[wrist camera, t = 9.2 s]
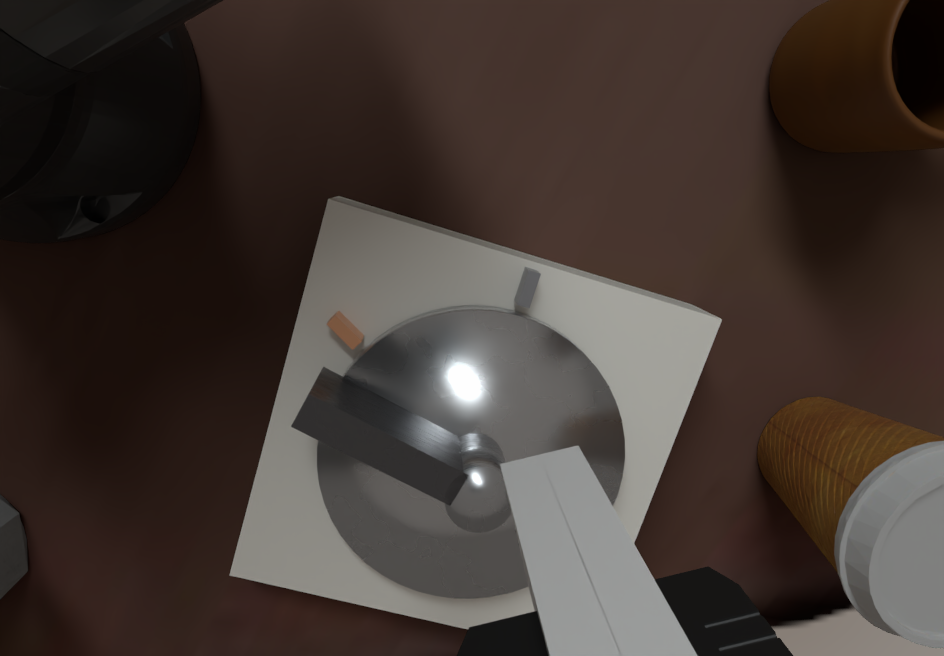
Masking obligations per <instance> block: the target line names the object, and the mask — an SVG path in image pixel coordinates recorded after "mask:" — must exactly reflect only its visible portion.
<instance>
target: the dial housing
mask: <svg viewBox="0 0 944 656" xmlns="http://www.w3.org/2000/svg"><path fill="white" fill-rule="evenodd" d="M462 305H486V306H496V307H501V308H506V309H512V310H515V311H518V312H521V313H524V314H527V315H530V316H532V317H534V318H537V319H539V320H541V321H543V322H545V323H547V324H549V325H550V326H552V327H553V328H555V329H556V330H558V331H559V332H561V333H563V334H564V335H565V336H566V337H568V338H569V339H570V340H571V341H572V342H573V343H574V344H576V345H577V346H578V347H579V348H580V349H581V350H582V351H583V353H584V354H585V355H586V356H587V357H588V358H589V359H590V361H591V362H592V363H593V364H594V365H595V366H596V368H597V369H598V370H599V372H600V373H601V375H602V376H603V378H604V379H605V381H606V382H607V384H608V385H609V387H610V390H611V392H612V394H613V396H614V398H615V400H616V403H617V406H618V409H619V412H620V416H621V419H622V424H623V430H624V437H625V463H624V471H623V477H622V481H621V485H620V489H619V492H618V496H617V498H616V500H615V503H614V505H613V508H614V509H615V511H616V513H617V515H618V516H619V518H620V520H621V522H622V523H623V525H624V527H625V529H626V530H627V532H628V534H629V536H630V538H631V539H632V541H633V543H635V540H636V537H637V535H638V532H639V530H640V527H641V525H642V522H643V520H644V517H645V515H646V512H647V509H648V507H649V504H650V502H651V499H652V497H653V494H654V492H655V489H656V486H657V484H658V481H659V479H660V476H661V474H662V471H663V469H664V466H665V464H666V461H667V458H668V456H669V453H670V451H671V448H672V446H673V443H674V441H675V438H676V436H677V433H678V430H679V428H680V425H681V423H682V420H683V418H684V415H685V413H686V410H687V408H688V405H689V402H690V400H691V397H692V395H693V392H694V390H695V387H696V385H697V382H698V380H699V377H700V374H701V372H702V369H703V367H704V364H705V362H706V359H707V357H708V354H709V352H710V349H711V346H712V344H713V341H714V339H715V336H716V334H717V331H718V329H719V326H720V324H721V321H722V319H720V318H718V317H716V316H714V315H712V314H710V313H708V312H706V311H704V310H702V309H700V308H698V307H696V306H694V305H692V304H689V303H686V302H682V301H679V300H676V299H673V298H669V297H666V296H663V295H660V294H656V293H653V292H650V291H647V290H643V289H640V288H637V287H634V286H630V285H627V284H624V283H621V282H617V281H614V280H611V279H608V278H604V277H601V276H598V275H594V274H591V273H588V272H585V271H581V270H578V269H575V268H572V267H568V266H565V265H562V264H559V263H555V262H552V261H549V260H546V259H542V258H539V257H536V256H533V255H529V254H526V253H523V252H520V251H516V250H513V249H510V248H507V247H503V246H500V245H497V244H494V243H490V242H487V241H484V240H481V239H477V238H474V237H471V236H468V235H464V234H461V233H458V232H455V231H451V230H448V229H445V228H442V227H438V226H435V225H432V224H429V223H425V222H422V221H419V220H416V219H412V218H409V217H406V216H403V215H399V214H396V213H393V212H390V211H386V210H383V209H380V208H376V207H373V206H370V205H367V204H363V203H360V202H357V201H354V200H350V199H347V198H344V197H341V196H337V197H333V198H329V199H328V202H327V205H326V209H325V213H324V217H323V221H322V224H321V228H320V232H319V236H318V240H317V244H316V247H315V251H314V255H313V259H312V263H311V266H310V270H309V274H308V278H307V282H306V285H305V289H304V293H303V297H302V301H301V304H300V308H299V312H298V316H297V320H296V323H295V327H294V331H293V335H292V339H291V343H290V346H289V350H288V354H287V358H286V362H285V365H284V369H283V373H282V377H281V381H280V384H279V388H278V392H277V396H276V400H275V403H274V407H273V411H272V415H271V419H270V423H269V426H268V430H267V434H266V438H265V442H264V445H263V449H262V453H261V457H260V461H259V464H258V468H257V472H256V476H255V480H254V483H253V487H252V491H251V495H250V499H249V502H248V506H247V510H246V514H245V518H244V522H243V525H242V529H241V533H240V537H239V541H238V544H237V548H236V552H235V556H234V560H233V563H232V567H231V571H230V576H235V577H239V578H243V579H248V580H252V581H257V582H261V583H265V584H270V585H274V586H279V587H283V588H287V589H292V590H296V591H301V592H305V593H309V594H314V595H318V596H323V597H327V598H331V599H336V600H340V601H345V602H349V603H353V604H358V605H362V606H367V607H371V608H375V609H380V610H384V611H389V612H393V613H397V614H402V615H406V616H411V617H415V618H419V619H424V620H428V621H433V622H437V623H441V624H446V625H450V626H454V627H459V628H463V629H469V627H473V626H477V625H481V624H485V623H489V622H493V621H497V620H501V619H505V618H510V617H514V616H518V615H522V614H526V613H530V612H534V611H535V610H534V606H533V603H532V599H531V595H530V591H529V587H526V588H523V589H520V590H518V591H515V592H512V593H508V594H503V595H498V596H494V597H486V598H475V599H459V598H447V597H440V596H434V595H430V594H426V593H422V592H418V591H415V590H412V589H410V588H407V587H405V586H402V585H400V584H398V583H396V582H394V581H392V580H390V579H388V578H387V577H385V576H383V575H381V574H380V573H379V572H377V571H376V570H374V569H373V568H372V567H370V566H369V565H367V564H366V563H365V562H364V561H363V560H362V559H361V558H360V557H359V556H358V555H357V554H356V553H355V552H354V551H353V550H352V549H351V548H350V547H349V545H348V544H347V543H346V542H345V541H344V539H343V538H342V537H341V535H340V534H339V532H338V530H337V529H336V527H335V525H334V524H333V522H332V520H331V518H330V516H329V513H328V511H327V509H326V506H325V504H324V501H323V497H322V494H321V490H320V486H319V480H318V472H317V445H318V440H316V439H314V438H312V437H310V436H308V435H306V434H304V433H302V432H300V431H298V430H296V429H294V428H292V427H291V425H292V423H293V422H294V420H295V418H296V416H297V414H298V412H299V410H300V408H301V406H302V405H303V403H304V401H305V399H306V397H307V395H308V393H309V391H310V390H311V388H312V386H313V384H314V382H315V381H316V379H317V377H318V375H319V373H320V372H321V370H322V368H323V367H325V368H327V369H329V370H331V371H333V372H335V373H337V374H339V375H341V376H343V374H344V373H345V371H346V369H347V368H348V366H349V365H350V364H351V363H352V362H353V360H354V359H355V358H356V357H357V356H358V355H359V354H360V352H361V351H362V350H363V349H364V348H366V347H367V346H368V345H369V344H370V343H371V342H372V341H373V340H375V339H376V338H377V337H378V336H380V335H381V334H383V333H384V332H386V331H387V330H389V329H390V328H392V327H393V326H395V325H397V324H399V323H401V322H403V321H405V320H407V319H409V318H411V317H414V316H417V315H419V314H422V313H425V312H428V311H431V310H436V309H441V308H445V307H450V306H462Z"/></svg>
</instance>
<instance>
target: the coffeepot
mask: <svg viewBox="0 0 944 656" xmlns="http://www.w3.org/2000/svg"><path fill="white" fill-rule="evenodd" d="M27 572H28V557H27V538H26V534H25V531H24V527H23V524H22V522H21V520H20V514H19V512H18V511H17V510H16V509H15V508H14V507H13V506H12V505H11V504H10V503H9V502H8V501H7V500H6V499H5V498H4V497H3V496H1V495H0V599H1V598H2V597H3V596H4V595H5V594H6V593H7V592H8V591H9V590H10V589H11V588H12V587H13V586H14V585H15V584H16V583H17V582H18V581H19V580H20V579H21V578H22V577H23V576H24V575H25V574H26V573H27Z"/></svg>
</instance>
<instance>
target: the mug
mask: <svg viewBox="0 0 944 656" xmlns="http://www.w3.org/2000/svg"><path fill="white" fill-rule="evenodd" d="M769 91H770V99H771V104H772V107H773V110H774V113H775V116H776V117H777V119H778V121H779V123H780V125H781V126H782V127H783V129H784V130H785V131H786V132H787V133H788V134H789V135H790V136H791V137H792V138H793V139H794V140H796V141H797V142H799V143H800V144H802V145H804V146H806V147H809V148H812V149H814V150H818V151H822V152H832V153H851V152H883V151H904V150H924V149H936V148H943V147H944V0H829V1H827V2H825V3H823V4H821V5H819V6H817V7H816V8H814V9H812V10H811V11H809V12H808V13H807V14H805V15H804V16H803V17H802V18H801V19H800V20H798V21H797V22H796V23H795V24H794V25H793V26H792V27H791V29H790V30H789V31H788V32H787V34H786V35H785V36H784V38H783V39H782V41H781V43H780V45H779V47H778V48H777V51H776V53H775V56H774V59H773V62H772V66H771V71H770V77H769Z"/></svg>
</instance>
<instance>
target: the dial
mask: <svg viewBox="0 0 944 656" xmlns="http://www.w3.org/2000/svg"><path fill="white" fill-rule="evenodd" d="M291 427H292V428H294V429H296V430H298V431H300V432H302V433H304V434H306V435H308V436H310V437H312V438H314V439H316V440H318V445H317V472H318V480H319V486H320V490H321V494H322V497H323V501H324V504H325V506H326V509H327V511H328V513H329V516H330V518H331V520H332V522H333V524H334V525H335V527H336V529H337V530H338V532H339V534H340V535H341V537H342V538H343V539H344V541H345V542H346V543H347V544H348V545H349V547H350V548H351V549H352V550H353V551H354V552H355V553H356V554H357V555H358V556H359V557H360V558H361V559H362V560H363V561H364V562H365V563H366V564H367V565H369V566H370V567H372V568H373V569H374V570H376V571H377V572H379V573H380V574H381V575H383V576H385V577H387V578H388V579H390V580H392V581H394V582H396V583H398V584H400V585H402V586H405V587H407V588H410V589H412V590H415V591H418V592H422V593H426V594H430V595H434V596H440V597H447V598H459V599H475V598H486V597H494V596H498V595H503V594H508V593H512V592H515V591H518V590H520V589H523V588H526V587H529V586H528V582H527V578H526V573H525V569H524V565H523V561H522V556H521V552H520V548H519V543H518V539H517V535H516V531H515V526H514V522H513V518H512V513H511V509H510V505H509V501H508V496H507V492H506V488H505V483H504V479H503V475H502V470H501V466H500V464H502V463H506V462H511V461H515V460H519V459H523V458H527V457H532V456H536V455H540V454H544V453H548V452H552V451H557V450H561V449H565V448H569V447H573V446H579V448H580V449H581V451H582V453H583V455H584V456H585V458H586V460H587V462H588V463H589V465H590V467H591V469H592V470H593V472H594V474H595V476H596V478H597V479H598V481H599V483H600V485H601V486H602V488H603V490H604V492H605V493H606V495H607V497H608V499H609V500H610V502H611V504H612V506H613V505H614V503H615V500H616V498H617V496H618V492H619V489H620V485H621V481H622V477H623V471H624V463H625V437H624V430H623V424H622V419H621V416H620V412H619V409H618V406H617V403H616V400H615V398H614V396H613V394H612V392H611V390H610V387H609V385H608V384H607V382H606V381H605V379H604V378H603V376H602V375H601V373H600V372H599V370H598V369H597V368H596V366H595V365H594V364H593V363H592V362H591V361H590V359H589V358H588V357H587V356H586V355H585V354H584V353H583V351H582V350H581V349H580V348H579V347H578V346H577V345H576V344H574V343H573V342H572V341H571V340H570V339H569V338H568V337H566V336H565V335H564V334H563V333H561V332H559V331H558V330H556V329H555V328H553V327H552V326H550V325H549V324H547V323H545V322H543V321H541V320H539V319H537V318H534V317H532V316H530V315H527V314H524V313H521V312H518V311H515V310H512V309H506V308H501V307H496V306H486V305H462V306H450V307H445V308H441V309H436V310H431V311H428V312H425V313H422V314H419V315H417V316H414V317H411V318H409V319H407V320H405V321H403V322H401V323H399V324H397V325H395V326H393V327H392V328H390V329H389V330H387V331H386V332H384V333H383V334H381V335H380V336H378V337H377V338H376V339H375V340H373V341H372V342H371V343H370V344H369V345H368V346H367V347H366V348H364V349H363V350H362V351H361V352H360V354H359V355H358V356H357V357H356V358H355V359H354V360H353V362H352V363H351V364H350V365H349V366H348V368H347V369H346V371H345V373H344V374H343V376H341V375H339V374H337V373H335V372H333V371H331V370H329V369H327V368H325V367H323V368H322V370H321V372H320V373H319V375H318V377H317V379H316V381H315V382H314V384H313V386H312V388H311V390H310V391H309V393H308V395H307V397H306V399H305V401H304V403H303V405H302V406H301V408H300V410H299V412H298V414H297V416H296V418H295V420H294V422H293V423H292V425H291Z"/></svg>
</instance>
